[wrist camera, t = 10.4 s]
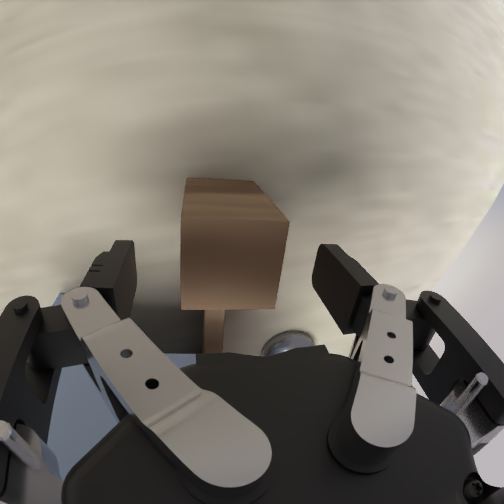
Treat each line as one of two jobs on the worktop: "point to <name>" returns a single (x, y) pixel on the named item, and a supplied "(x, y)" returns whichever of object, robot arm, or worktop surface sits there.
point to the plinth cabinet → (83, 413)
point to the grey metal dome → (286, 342)
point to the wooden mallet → (229, 251)
